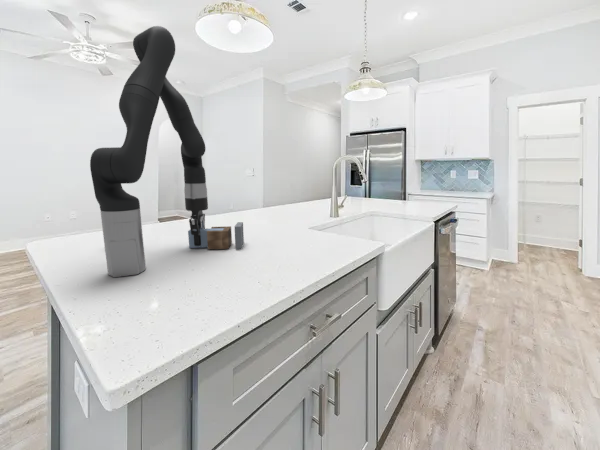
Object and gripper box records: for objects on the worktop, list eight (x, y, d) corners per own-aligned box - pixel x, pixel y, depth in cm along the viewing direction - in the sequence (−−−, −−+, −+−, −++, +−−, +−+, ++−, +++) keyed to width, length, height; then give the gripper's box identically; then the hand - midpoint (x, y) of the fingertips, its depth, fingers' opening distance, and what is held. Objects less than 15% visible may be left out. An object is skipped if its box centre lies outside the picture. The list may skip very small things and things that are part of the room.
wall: (235, 249, 110) (234, 226, 108) (238, 243, 118) (237, 222, 117) (241, 249, 110) (240, 226, 108) (243, 243, 119) (243, 222, 117)
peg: (189, 247, 111) (188, 231, 110) (192, 245, 115) (190, 228, 114) (223, 246, 112) (223, 230, 111) (225, 244, 116) (224, 228, 115)
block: (207, 249, 109) (206, 231, 108) (212, 243, 118) (212, 226, 117) (228, 248, 109) (227, 231, 108) (231, 242, 118) (231, 226, 117)
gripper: (190, 194, 117) (193, 239, 120) (179, 198, 103) (183, 249, 106) (210, 194, 117) (213, 239, 120) (202, 198, 103) (205, 248, 106)
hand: (199, 243), depth 113 cm, fingers closed on peg, 4 cm apart
